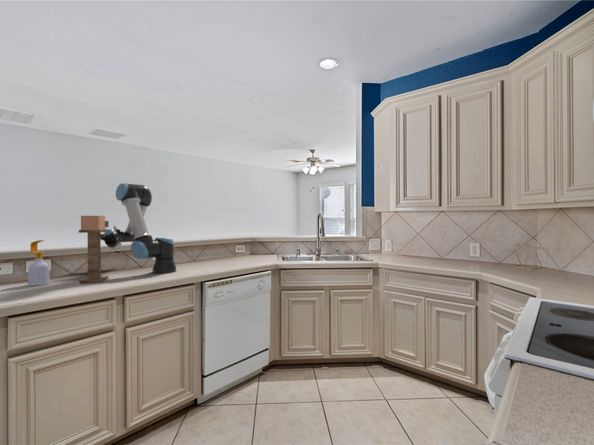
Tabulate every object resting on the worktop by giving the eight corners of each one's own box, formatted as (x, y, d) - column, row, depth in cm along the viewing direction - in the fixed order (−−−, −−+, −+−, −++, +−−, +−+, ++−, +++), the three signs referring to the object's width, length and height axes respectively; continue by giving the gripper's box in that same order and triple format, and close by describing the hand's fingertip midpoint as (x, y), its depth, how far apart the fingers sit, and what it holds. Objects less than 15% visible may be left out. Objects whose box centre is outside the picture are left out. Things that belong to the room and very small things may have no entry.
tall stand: (88, 279, 191) (87, 229, 190) (108, 278, 193) (108, 229, 193) (79, 283, 179) (78, 230, 179) (101, 282, 181) (100, 229, 181)
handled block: (97, 228, 202) (97, 216, 202) (112, 228, 204) (112, 216, 204) (80, 229, 179) (80, 215, 179) (98, 229, 181) (98, 215, 181)
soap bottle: (40, 286, 172) (40, 240, 171) (23, 286, 172) (23, 240, 172) (53, 282, 181) (53, 239, 180) (37, 282, 181) (37, 239, 181)
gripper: (131, 247, 219) (123, 232, 202) (91, 248, 214) (78, 233, 196) (133, 237, 223) (124, 222, 205) (93, 238, 218) (81, 222, 200)
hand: (102, 227), depth 201 cm, fingers open, 13 cm apart
